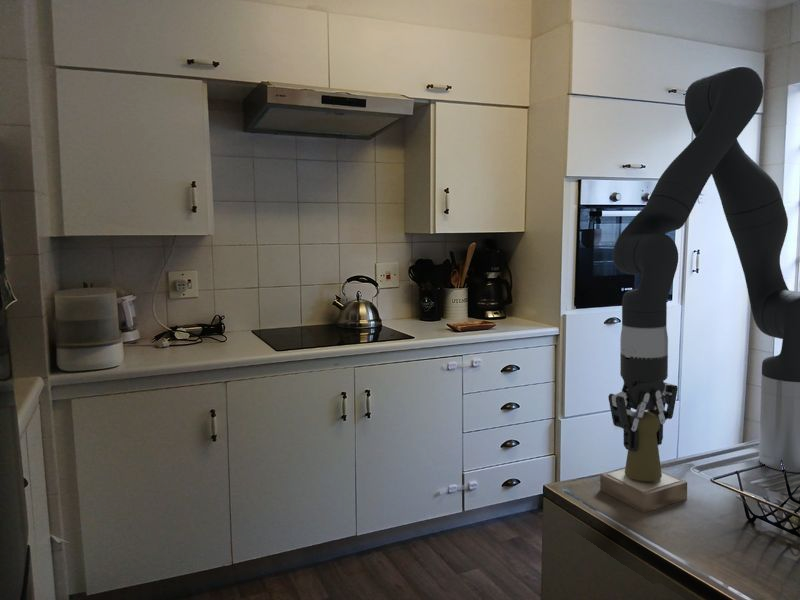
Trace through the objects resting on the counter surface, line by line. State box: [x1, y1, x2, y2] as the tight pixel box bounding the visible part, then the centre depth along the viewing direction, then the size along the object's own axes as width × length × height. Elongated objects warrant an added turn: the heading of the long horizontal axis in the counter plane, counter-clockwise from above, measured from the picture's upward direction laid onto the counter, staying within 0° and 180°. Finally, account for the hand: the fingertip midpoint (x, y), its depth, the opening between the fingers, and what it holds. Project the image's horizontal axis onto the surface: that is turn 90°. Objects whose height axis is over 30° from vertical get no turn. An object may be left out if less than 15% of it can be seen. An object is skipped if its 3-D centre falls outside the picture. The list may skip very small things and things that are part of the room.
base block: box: [599, 466, 688, 514], centre depth 107 cm, size 10×10×3 cm
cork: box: [625, 410, 662, 481], centre depth 106 cm, size 6×6×11 cm
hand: (643, 446), depth 107 cm, fingers closed on cork, 5 cm apart
